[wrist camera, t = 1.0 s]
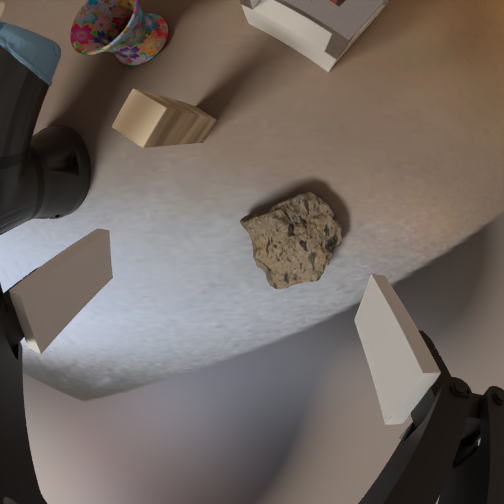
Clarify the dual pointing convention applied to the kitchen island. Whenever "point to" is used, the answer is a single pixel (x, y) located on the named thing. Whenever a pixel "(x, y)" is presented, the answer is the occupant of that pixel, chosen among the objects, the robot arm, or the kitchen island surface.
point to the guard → (332, 17)
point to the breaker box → (298, 30)
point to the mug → (118, 30)
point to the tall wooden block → (161, 121)
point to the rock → (294, 239)
